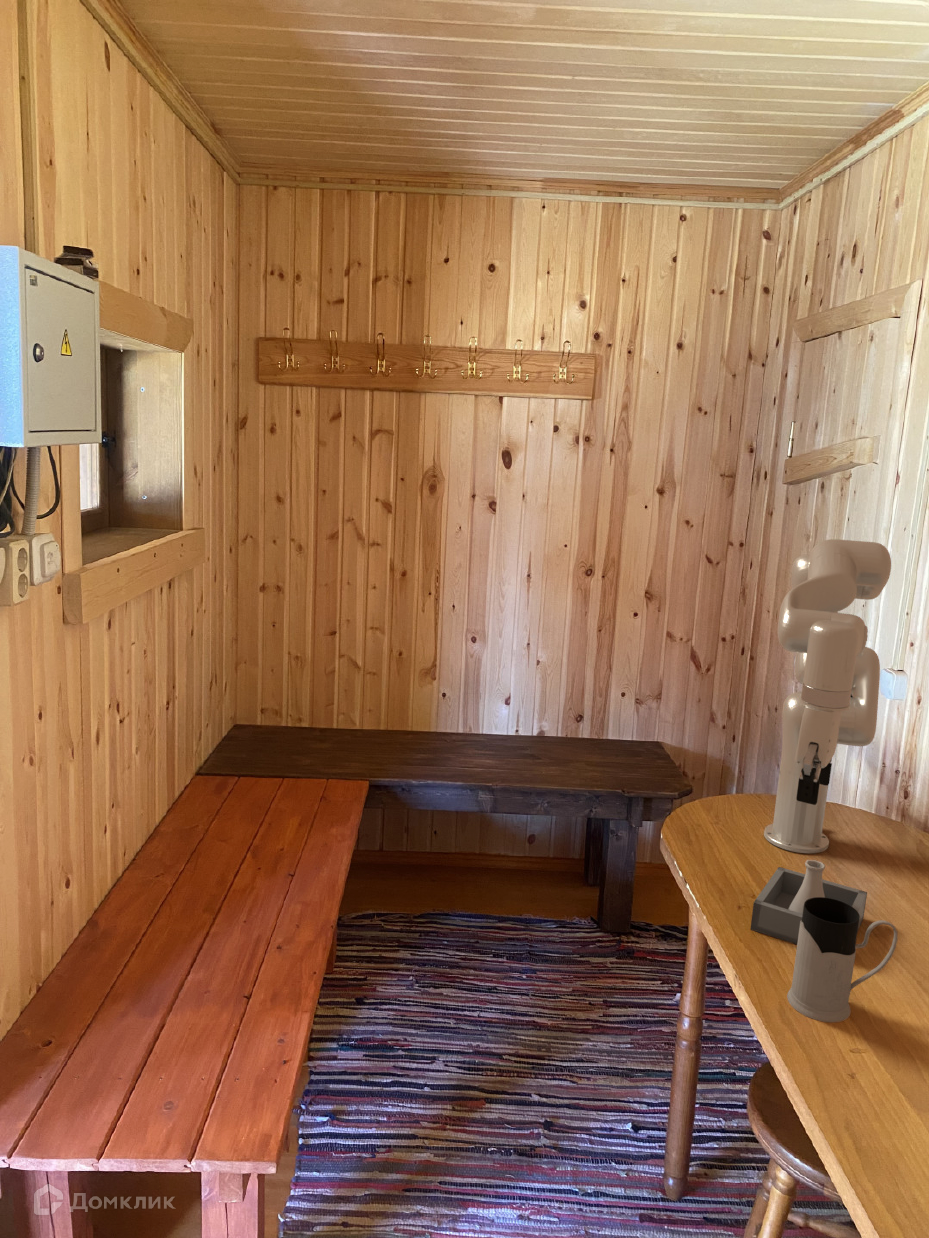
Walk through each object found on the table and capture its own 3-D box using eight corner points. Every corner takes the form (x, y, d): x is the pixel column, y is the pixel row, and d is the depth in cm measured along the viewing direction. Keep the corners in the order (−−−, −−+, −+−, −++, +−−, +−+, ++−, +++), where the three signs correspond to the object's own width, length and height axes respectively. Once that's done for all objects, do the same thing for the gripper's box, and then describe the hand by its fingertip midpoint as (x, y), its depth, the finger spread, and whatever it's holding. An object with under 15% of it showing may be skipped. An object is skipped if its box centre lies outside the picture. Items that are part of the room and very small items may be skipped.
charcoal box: (775, 891, 167) (778, 866, 166) (863, 918, 159) (867, 892, 158) (750, 929, 154) (753, 902, 153) (844, 960, 146) (848, 931, 145)
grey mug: (779, 983, 139) (791, 893, 136) (873, 989, 139) (887, 898, 136) (798, 1020, 130) (811, 924, 127) (898, 1026, 130) (914, 930, 127)
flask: (833, 932, 152) (841, 876, 150) (788, 925, 154) (795, 870, 152) (827, 910, 159) (834, 857, 157) (783, 904, 161) (790, 851, 159)
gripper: (813, 679, 160) (801, 771, 164) (789, 704, 146) (777, 804, 150) (859, 688, 156) (845, 781, 160) (839, 714, 142) (825, 816, 146)
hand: (812, 792), depth 155 cm, fingers open, 9 cm apart
